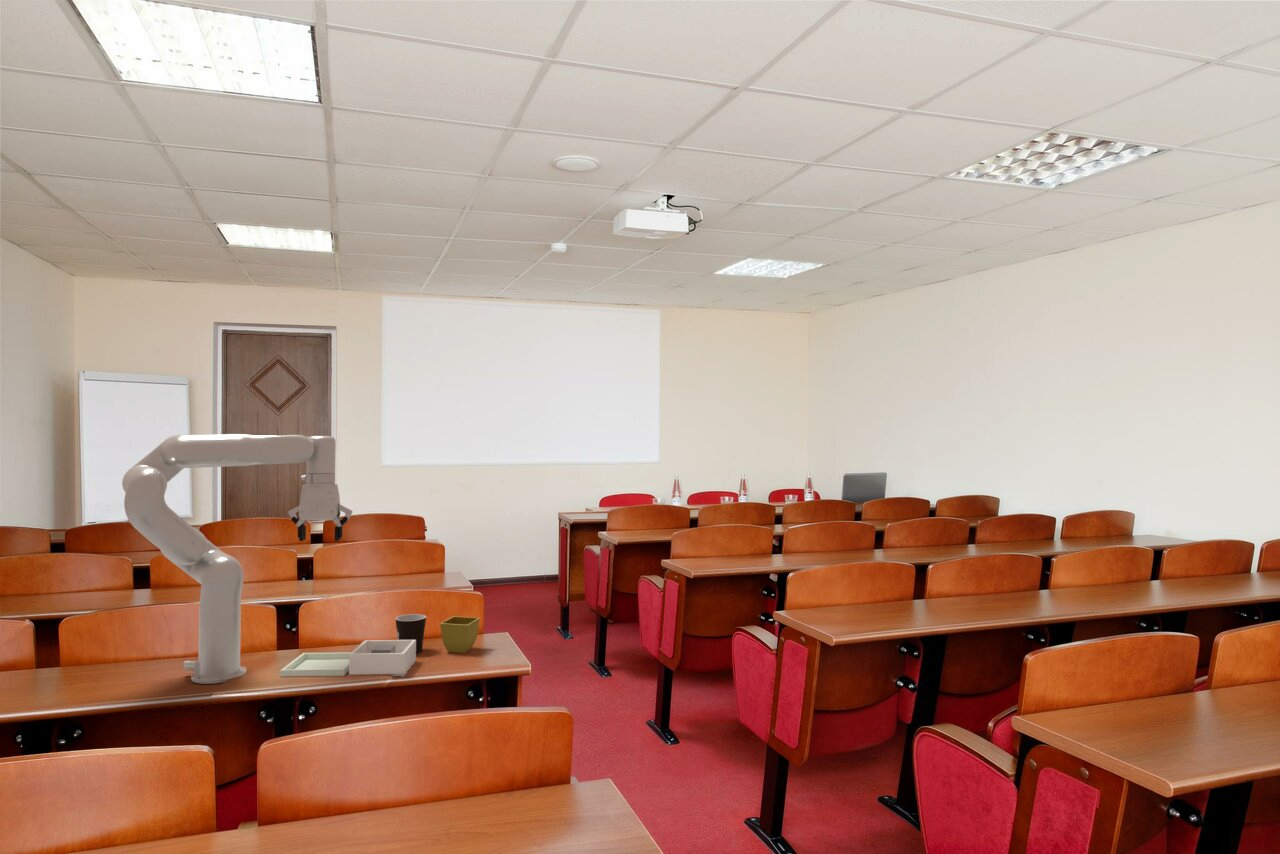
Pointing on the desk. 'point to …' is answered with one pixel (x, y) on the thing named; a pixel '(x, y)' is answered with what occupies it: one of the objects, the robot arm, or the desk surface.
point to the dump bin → (382, 658)
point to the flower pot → (459, 633)
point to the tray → (317, 665)
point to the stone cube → (384, 649)
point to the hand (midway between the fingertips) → (320, 540)
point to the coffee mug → (411, 629)
